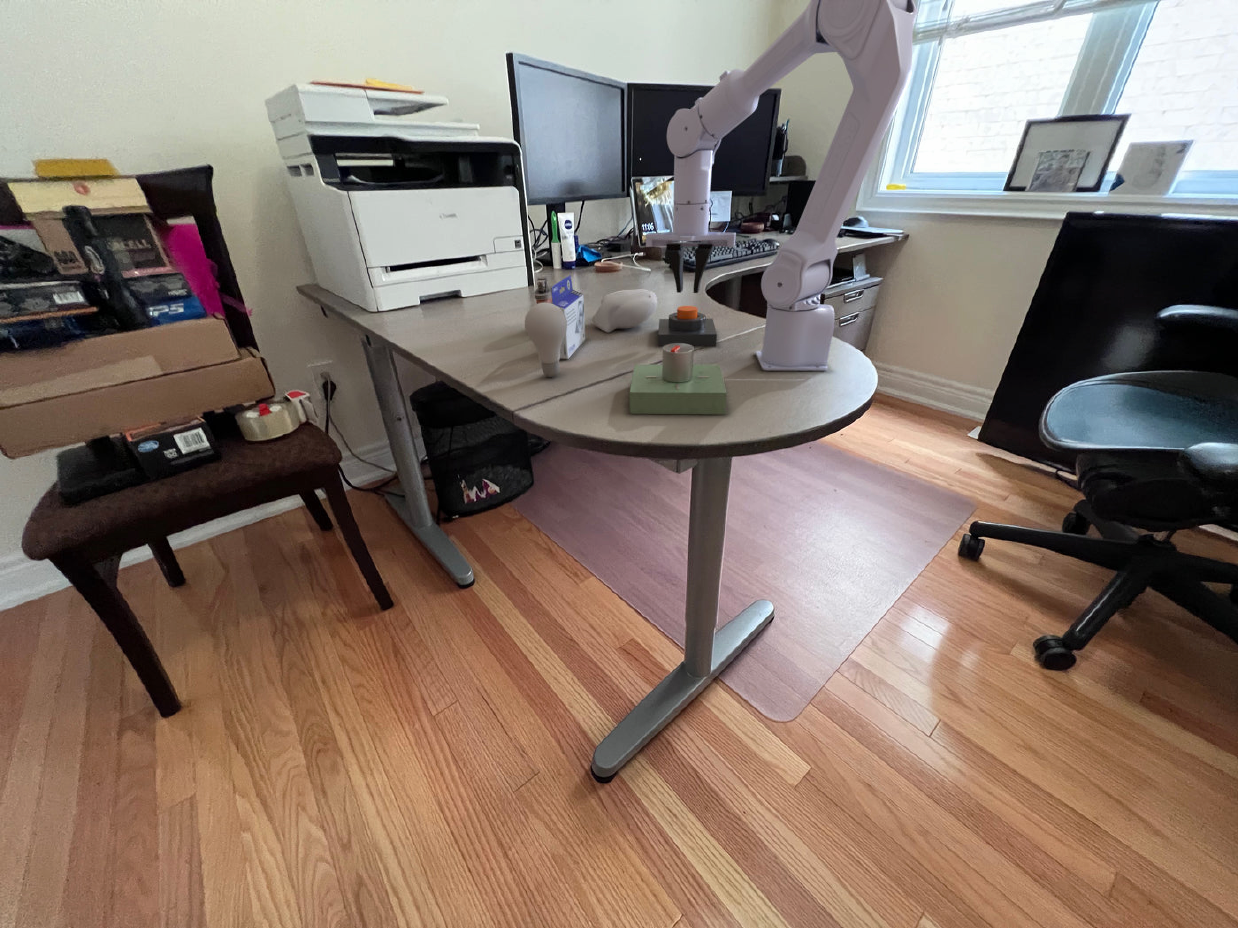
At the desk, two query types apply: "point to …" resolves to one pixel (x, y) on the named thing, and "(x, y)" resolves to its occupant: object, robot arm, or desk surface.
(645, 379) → the panel
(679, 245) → the robot arm
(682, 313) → the button
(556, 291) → the ink box
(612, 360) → the desk surface
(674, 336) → the button base
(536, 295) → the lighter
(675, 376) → the lock knob
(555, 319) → the lightbulb
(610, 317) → the shell shaped sculpture
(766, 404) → the desk surface
